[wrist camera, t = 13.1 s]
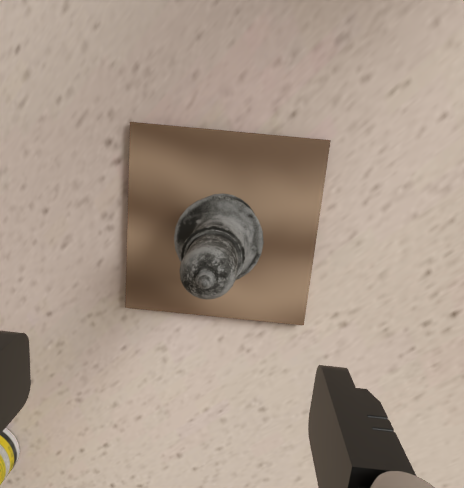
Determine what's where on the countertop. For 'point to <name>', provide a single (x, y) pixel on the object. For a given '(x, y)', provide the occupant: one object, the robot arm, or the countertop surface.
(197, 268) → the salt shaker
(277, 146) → the walnut pad
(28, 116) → the countertop surface
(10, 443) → the supplement bottle
